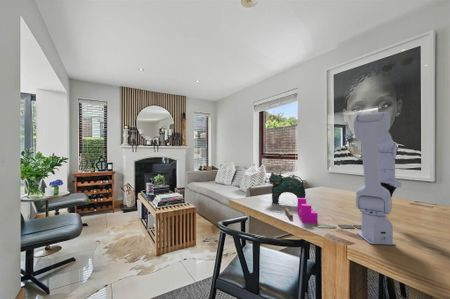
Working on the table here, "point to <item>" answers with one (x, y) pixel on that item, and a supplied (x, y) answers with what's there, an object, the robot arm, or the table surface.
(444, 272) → the table surface
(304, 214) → the toy block
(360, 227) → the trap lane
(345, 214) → the table surface
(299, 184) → the ceramic cat
